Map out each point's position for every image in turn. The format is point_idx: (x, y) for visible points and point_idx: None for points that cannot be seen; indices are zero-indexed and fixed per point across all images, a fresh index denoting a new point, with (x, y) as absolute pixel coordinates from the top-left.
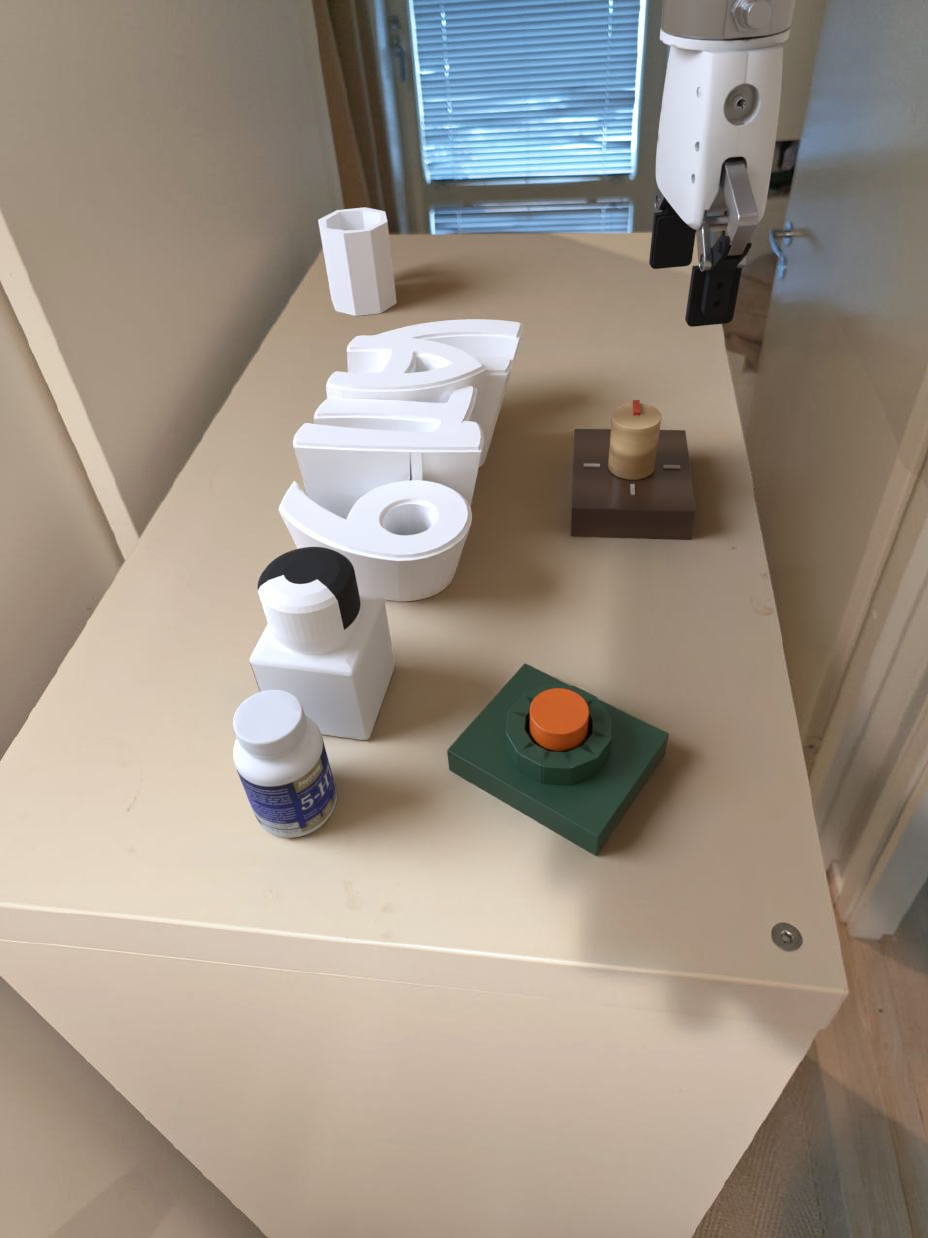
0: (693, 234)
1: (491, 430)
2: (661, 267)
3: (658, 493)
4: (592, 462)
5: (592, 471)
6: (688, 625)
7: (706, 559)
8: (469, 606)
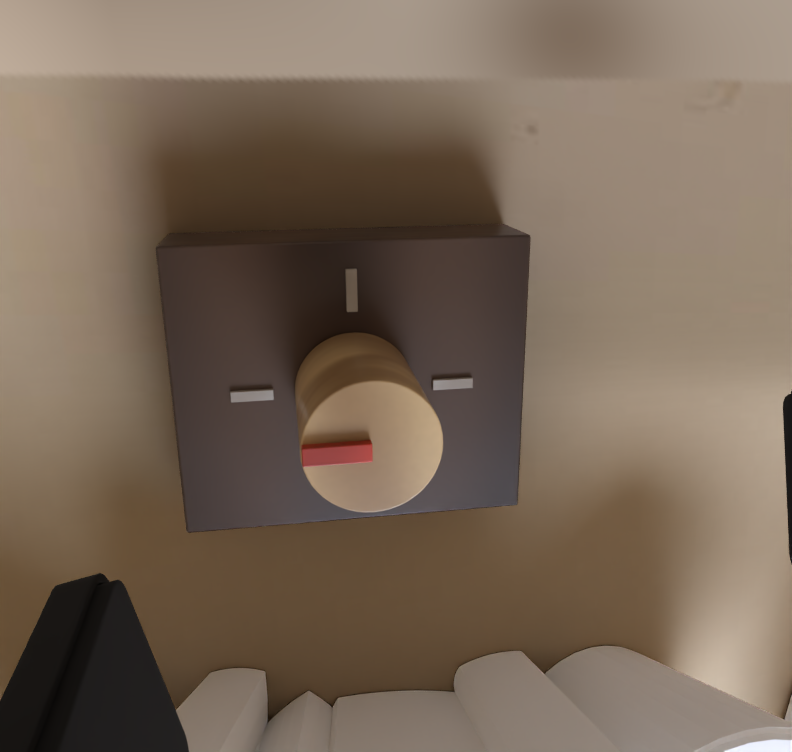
0: (74, 709)
1: (237, 712)
2: (175, 711)
3: (462, 322)
4: None
5: None
6: (752, 241)
7: (568, 193)
8: (678, 607)
